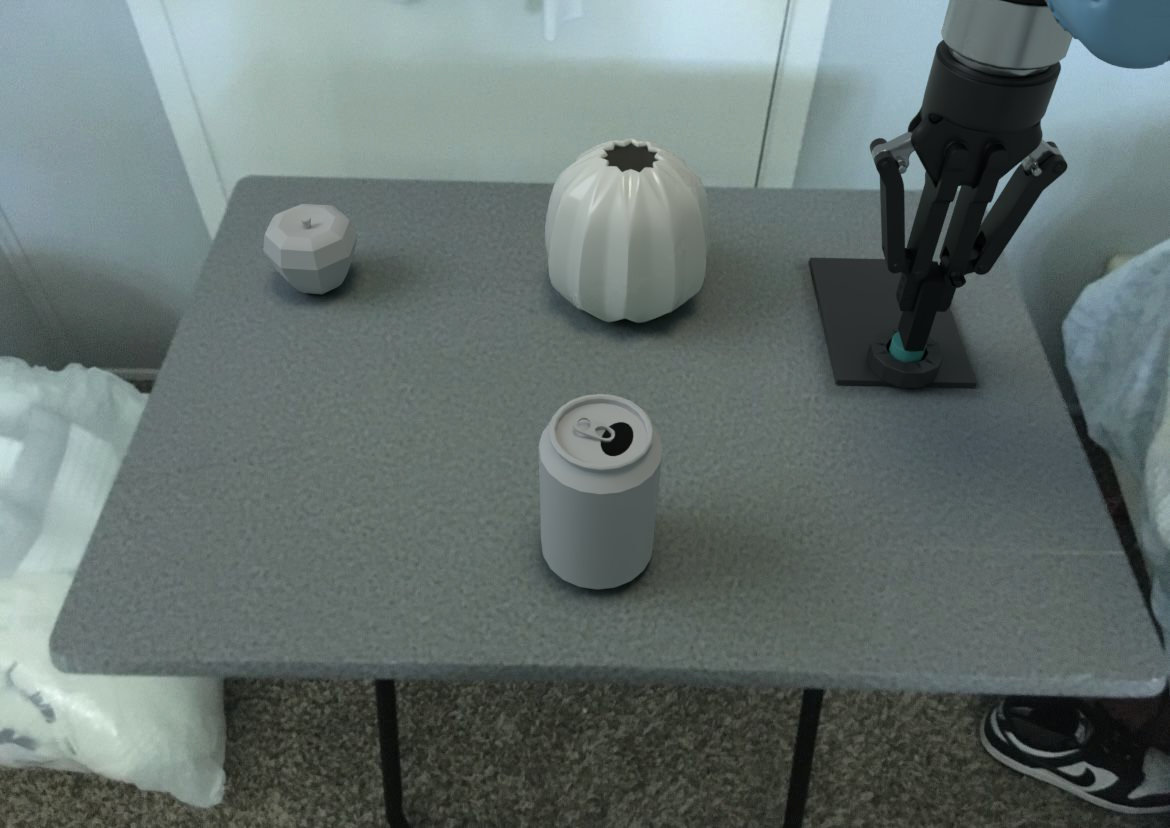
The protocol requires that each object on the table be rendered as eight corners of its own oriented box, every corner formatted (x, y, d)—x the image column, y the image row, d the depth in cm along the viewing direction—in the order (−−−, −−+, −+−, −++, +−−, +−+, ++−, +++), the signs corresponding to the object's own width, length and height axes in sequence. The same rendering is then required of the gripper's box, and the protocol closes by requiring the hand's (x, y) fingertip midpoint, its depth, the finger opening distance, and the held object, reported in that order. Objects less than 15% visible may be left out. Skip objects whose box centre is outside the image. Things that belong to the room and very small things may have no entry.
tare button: (924, 367, 81) (929, 352, 80) (891, 366, 81) (896, 351, 80) (917, 345, 83) (922, 330, 81) (885, 344, 83) (889, 329, 81)
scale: (977, 394, 81) (985, 374, 79) (837, 391, 81) (842, 371, 79) (931, 265, 93) (937, 245, 91) (808, 262, 93) (812, 242, 91)
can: (634, 610, 66) (644, 488, 58) (524, 579, 68) (519, 455, 59) (665, 524, 71) (679, 400, 63) (563, 496, 73) (563, 372, 64)
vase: (549, 243, 94) (547, 108, 85) (701, 247, 94) (716, 113, 84) (539, 342, 84) (535, 203, 75) (709, 347, 84) (727, 208, 75)
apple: (268, 263, 92) (252, 199, 87) (357, 247, 93) (346, 184, 89) (278, 318, 86) (261, 254, 82) (372, 300, 88) (361, 237, 83)
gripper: (1086, 24, 66) (982, 310, 83) (883, 20, 66) (820, 307, 83) (1127, 80, 61) (1007, 374, 78) (907, 75, 61) (834, 370, 78)
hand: (910, 339), depth 80 cm, fingers closed
